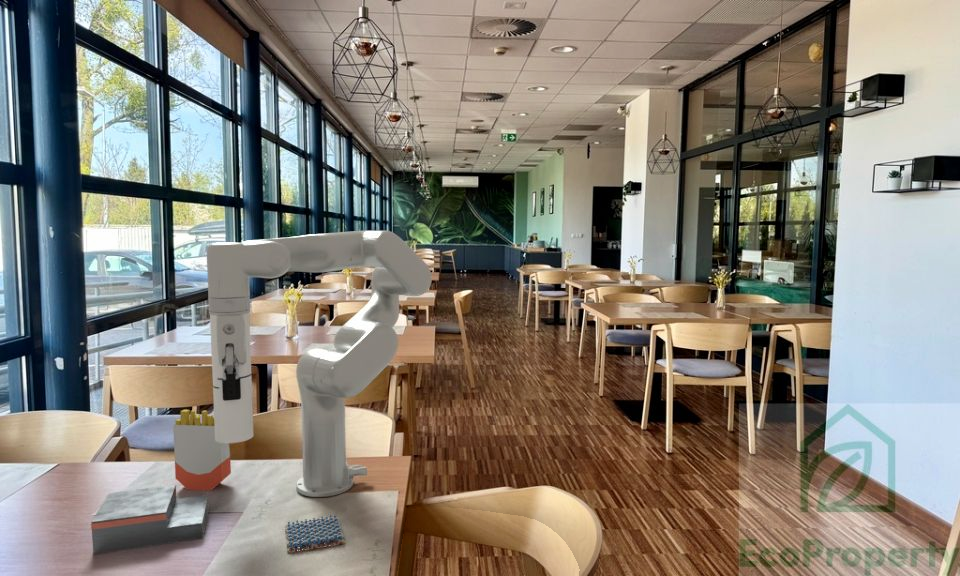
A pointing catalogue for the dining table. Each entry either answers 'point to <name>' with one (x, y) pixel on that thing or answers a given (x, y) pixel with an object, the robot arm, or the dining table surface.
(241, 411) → the cylindrical container
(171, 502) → the step stand
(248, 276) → the robot arm
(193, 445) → the french fries container
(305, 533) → the woven mat
